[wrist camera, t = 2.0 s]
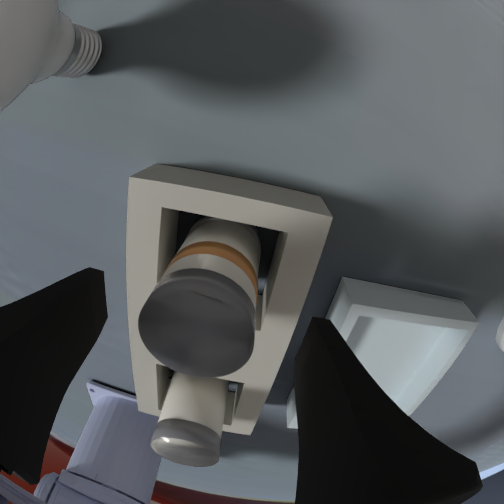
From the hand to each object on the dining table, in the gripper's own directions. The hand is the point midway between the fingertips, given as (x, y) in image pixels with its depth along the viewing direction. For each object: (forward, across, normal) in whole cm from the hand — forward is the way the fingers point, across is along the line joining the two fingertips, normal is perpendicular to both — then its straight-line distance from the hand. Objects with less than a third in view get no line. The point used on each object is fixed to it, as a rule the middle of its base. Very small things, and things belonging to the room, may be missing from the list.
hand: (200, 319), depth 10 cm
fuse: (+6, 0, +9) cm, 11 cm away
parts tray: (+6, -11, +6) cm, 14 cm away
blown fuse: (+6, 0, 0) cm, 6 cm away
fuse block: (+6, 0, +5) cm, 8 cm away
